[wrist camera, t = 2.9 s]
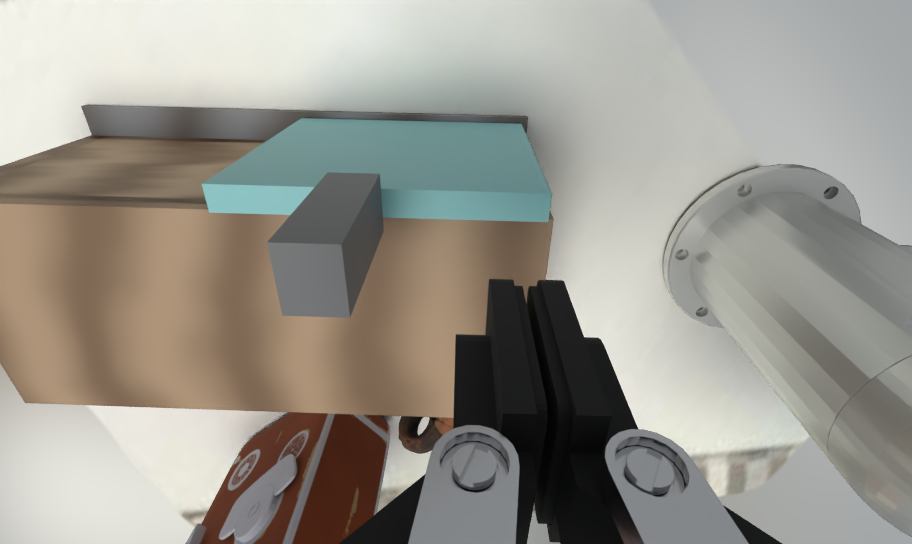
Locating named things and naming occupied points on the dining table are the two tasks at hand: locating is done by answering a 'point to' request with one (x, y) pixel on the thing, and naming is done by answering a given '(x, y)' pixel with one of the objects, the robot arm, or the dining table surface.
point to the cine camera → (301, 482)
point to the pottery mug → (428, 437)
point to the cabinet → (225, 279)
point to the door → (372, 194)
